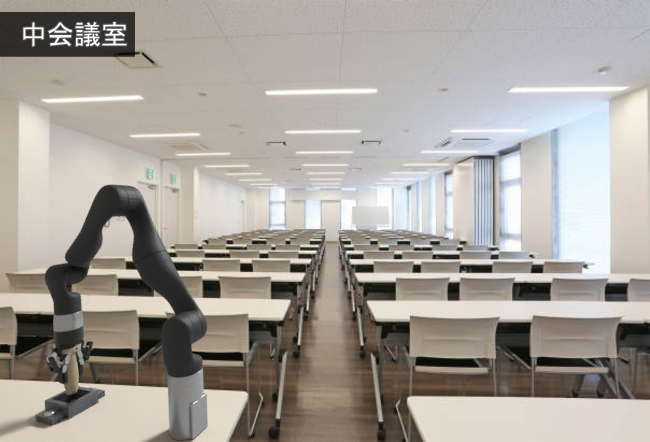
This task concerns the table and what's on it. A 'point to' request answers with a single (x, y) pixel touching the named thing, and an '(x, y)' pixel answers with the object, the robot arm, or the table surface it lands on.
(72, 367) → the handle
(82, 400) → the bracket
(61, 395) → the chain end
